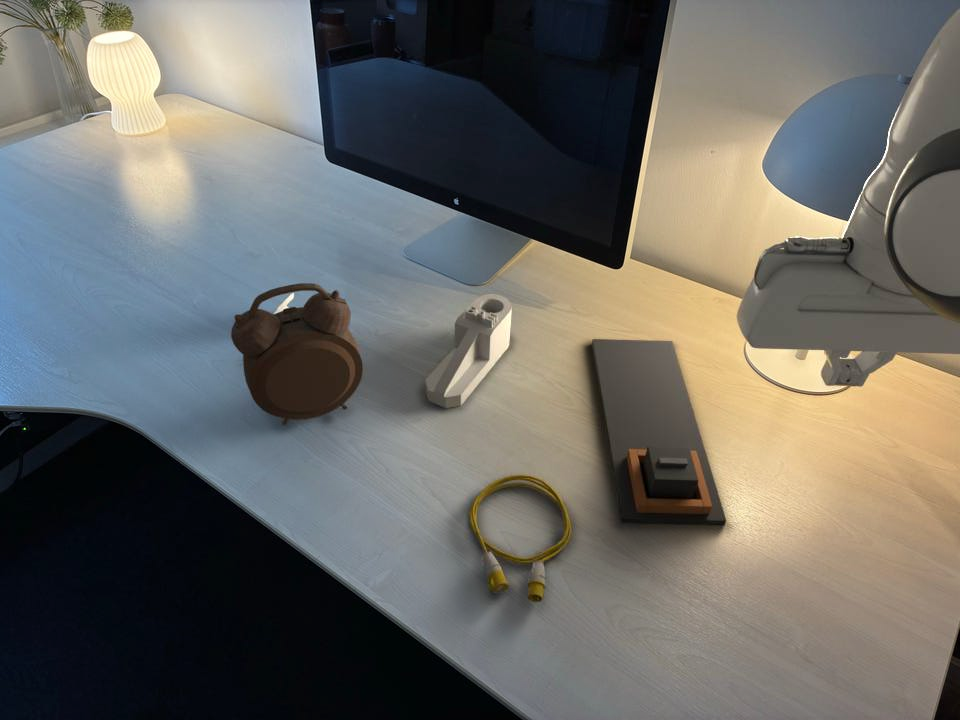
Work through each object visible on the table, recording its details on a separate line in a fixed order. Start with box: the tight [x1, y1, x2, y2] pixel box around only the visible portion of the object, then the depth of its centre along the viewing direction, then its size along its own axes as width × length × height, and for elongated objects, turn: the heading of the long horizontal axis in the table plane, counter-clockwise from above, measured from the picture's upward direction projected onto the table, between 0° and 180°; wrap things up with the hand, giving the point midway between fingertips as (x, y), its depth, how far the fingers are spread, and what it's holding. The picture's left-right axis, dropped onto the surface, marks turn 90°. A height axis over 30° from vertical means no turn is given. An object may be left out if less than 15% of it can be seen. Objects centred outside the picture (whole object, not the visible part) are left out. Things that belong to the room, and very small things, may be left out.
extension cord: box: [468, 474, 572, 603], centre depth 77 cm, size 12×16×2 cm
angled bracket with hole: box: [424, 293, 513, 409], centre depth 96 cm, size 6×18×8 cm, turn 151°
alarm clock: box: [230, 282, 364, 427], centre depth 85 cm, size 14×7×20 cm, turn 113°
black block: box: [642, 446, 699, 500], centre depth 80 cm, size 5×5×4 cm
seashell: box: [272, 292, 295, 315], centre depth 102 cm, size 8×5×8 cm
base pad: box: [591, 338, 727, 527], centre depth 90 cm, size 32×12×2 cm, turn 179°
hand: (840, 381), depth 58 cm, fingers closed
